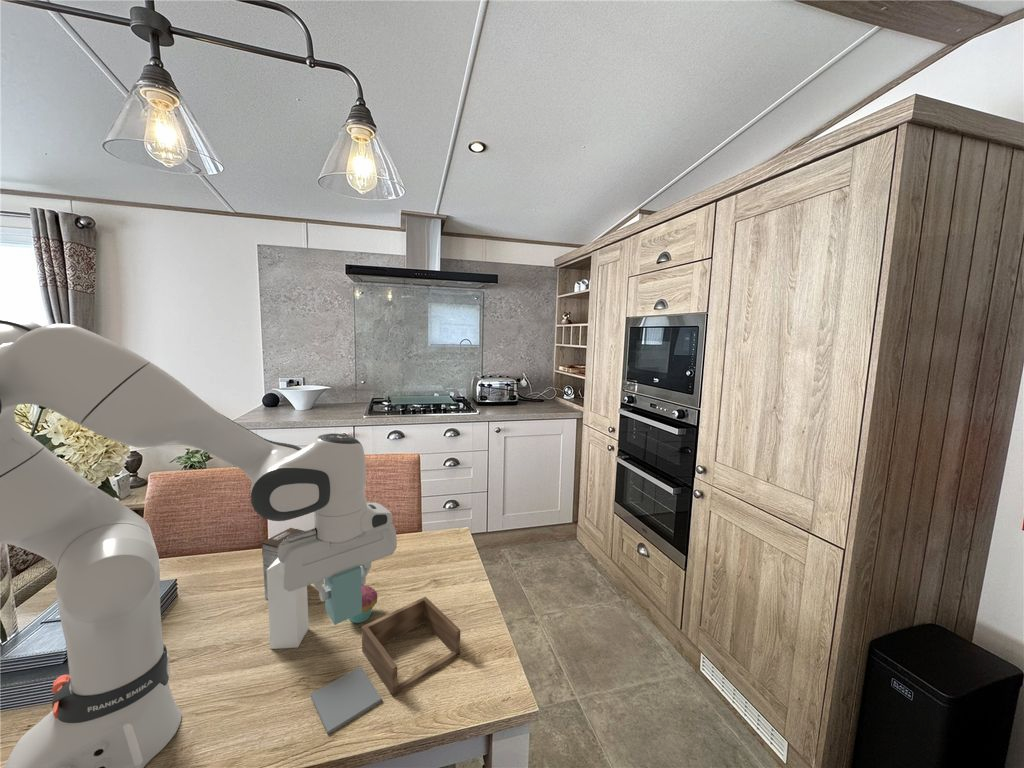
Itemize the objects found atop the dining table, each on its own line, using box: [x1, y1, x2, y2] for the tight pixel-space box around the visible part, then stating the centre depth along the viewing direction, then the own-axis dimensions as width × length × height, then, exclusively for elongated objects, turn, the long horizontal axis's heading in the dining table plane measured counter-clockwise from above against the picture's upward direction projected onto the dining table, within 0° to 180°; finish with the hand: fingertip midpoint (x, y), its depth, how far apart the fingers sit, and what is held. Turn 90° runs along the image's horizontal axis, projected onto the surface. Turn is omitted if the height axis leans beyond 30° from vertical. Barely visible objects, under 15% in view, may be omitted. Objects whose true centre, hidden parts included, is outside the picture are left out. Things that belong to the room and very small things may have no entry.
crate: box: [361, 596, 461, 697], centre depth 89 cm, size 16×15×6 cm
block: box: [324, 566, 362, 626], centre depth 75 cm, size 5×5×9 cm
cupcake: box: [349, 585, 378, 624], centre depth 99 cm, size 9×8×12 cm
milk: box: [267, 558, 310, 650], centre depth 91 cm, size 6×6×22 cm
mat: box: [310, 666, 383, 735], centre depth 77 cm, size 10×10×1 cm
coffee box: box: [261, 527, 310, 600], centre depth 108 cm, size 9×6×16 cm
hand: (343, 591), depth 75 cm, fingers closed on block, 5 cm apart
